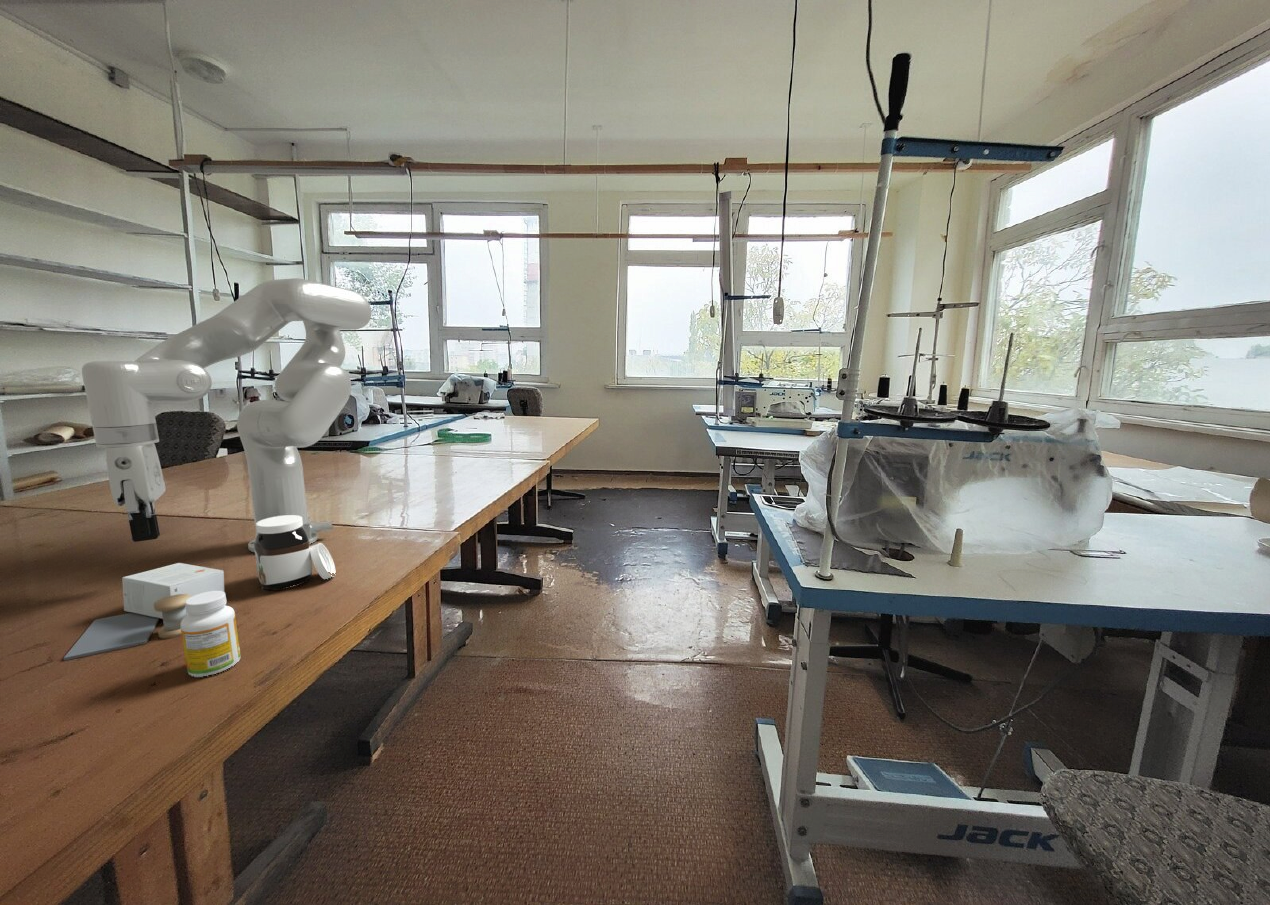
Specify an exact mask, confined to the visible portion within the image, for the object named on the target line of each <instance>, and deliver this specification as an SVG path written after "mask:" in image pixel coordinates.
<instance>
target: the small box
mask: <svg viewBox="0 0 1270 905" xmlns="http://www.w3.org/2000/svg"><path fill="white" fill-rule="evenodd" d="M121 580H122V582H121V583H122V594H123V595H122V597H123V611H125V612H128V613H137V614H142V615H147V616H151V617H156V618H160V620H161V619H162V620H163V617H162V612H157V611H155V610H154V603H155V602H156V601H158V600H160V599H162V598H165V597H168V596H172V595H178V594H189V595H190V596H191V597H192V596H195V595H197V594H200V593H204V592H209V591H223V592H225V572H224V570H223V569H218V568H212V567H211V568H210V567H206V566H200V565H199V566H198V565H193V564H187V563H183V562H177V563H173V564H170V565H169V564H168V565H166V566H162V567H157V568H154V569H150V570H147V571H142V572H138V573H135V574H130V575H127V576H123V577H122V578H121ZM187 615H188V614H187Z"/></svg>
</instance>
